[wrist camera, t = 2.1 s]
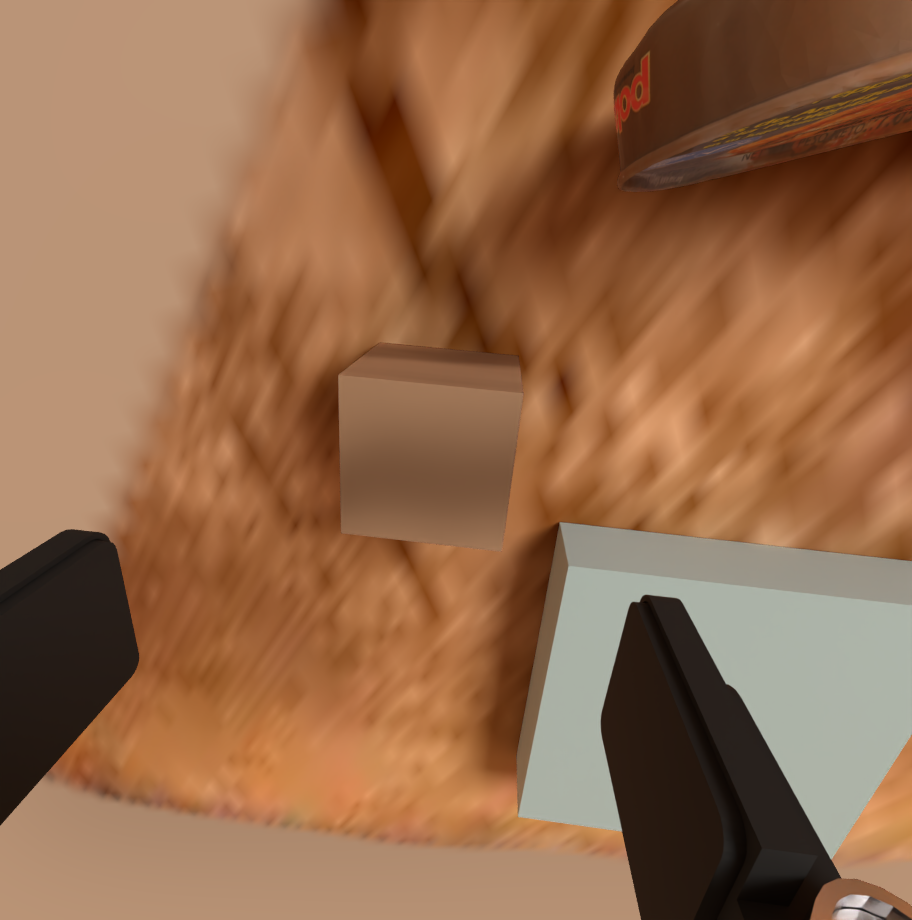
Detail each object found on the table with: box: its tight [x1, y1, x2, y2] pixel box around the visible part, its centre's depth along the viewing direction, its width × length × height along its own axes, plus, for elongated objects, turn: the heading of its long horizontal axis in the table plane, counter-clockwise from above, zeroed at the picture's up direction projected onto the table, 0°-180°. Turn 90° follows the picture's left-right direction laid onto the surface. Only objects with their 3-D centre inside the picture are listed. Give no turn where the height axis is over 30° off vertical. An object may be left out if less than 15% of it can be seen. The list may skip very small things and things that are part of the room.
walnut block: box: [338, 343, 524, 552], centre depth 17 cm, size 5×5×5 cm
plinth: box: [516, 522, 912, 859], centre depth 21 cm, size 14×14×3 cm
